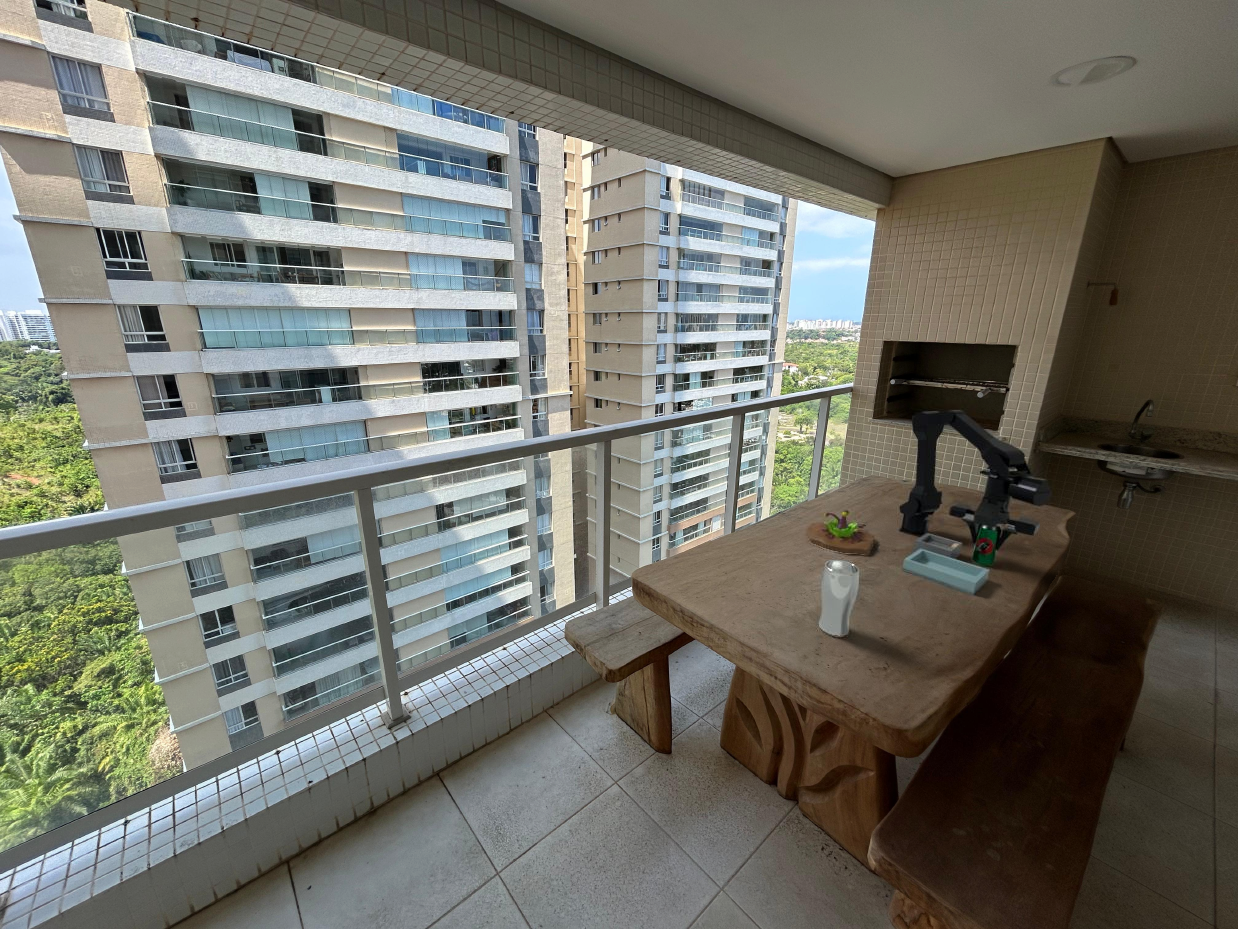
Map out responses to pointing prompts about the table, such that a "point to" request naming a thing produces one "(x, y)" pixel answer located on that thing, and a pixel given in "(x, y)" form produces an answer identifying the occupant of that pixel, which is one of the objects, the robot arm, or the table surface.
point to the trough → (946, 571)
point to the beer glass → (838, 596)
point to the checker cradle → (950, 552)
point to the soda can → (986, 545)
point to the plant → (841, 536)
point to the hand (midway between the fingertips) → (985, 546)
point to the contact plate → (939, 544)
